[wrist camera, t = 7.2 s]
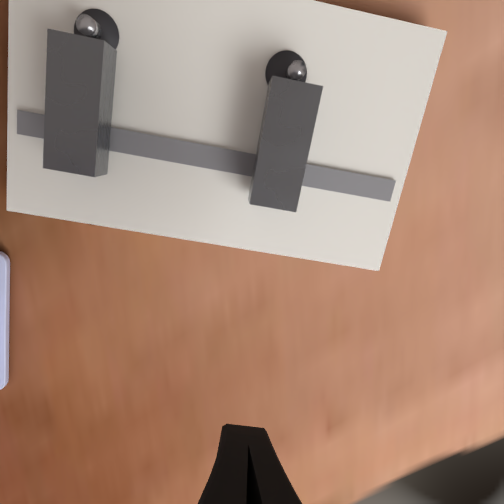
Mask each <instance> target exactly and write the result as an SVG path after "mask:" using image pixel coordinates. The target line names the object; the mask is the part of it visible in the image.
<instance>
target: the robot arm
mask: <svg viewBox="0 0 504 504" xmlns="http://www.w3.org/2000/svg"><path fill="white" fill-rule="evenodd" d="M9 302H10V260H9V257H8V256H7V255H6V254H5V253H3V252H0V389H2V388H3V387H4V386H5V385H6V384H7V383H8V380H9ZM198 504H302V503H301V501H300V499H299V498H298V496H297V494H296V492H295V490H294V489H293V487H292V485H291V483H290V481H289V479H288V477H287V475H286V473H285V471H284V469H283V467H282V465H281V463H280V461H279V459H278V457H277V455H276V453H275V450H274V448H273V446H272V444H271V441H270V439H269V436H268V434H267V431H266V430H265V429H264V428H258V427H250V426H241V425H232V424H226V425H224V426H222V431H221V437H220V442H219V447H218V452H217V458H216V461H215V463H214V466H213V469H212V472H211V474H210V477H209V479H208V482H207V484H206V486H205V489H204V491H203V493H202V495H201V498H200V500H199V502H198Z"/></svg>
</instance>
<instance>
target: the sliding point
mask: <svg viewBox="0 0 504 504" xmlns="http://www.w3.org/2000/svg"><path fill="white" fill-rule="evenodd" d="M305 73H306V65H305V63H304V62H303V61H301V60H295V61H293V62H292V63H291V64H290V66H289V67H288V69H287V71H286V75H287V78H288V79H287V78H282V77H277V76H272V78H271V79H270V81H269V84H268V90H267V95H266V101H265V107H264V112H263V118H262V123H261V129H260V134H259V140H258V146H257V151H256V157H255V162H254V168H253V174H252V179H251V185H250V190H249V196H248V201H249V204H251V205H257V206H262V207H268V208H274V209H280V210H285V211H291V212H296V211H297V206H298V201H299V197H300V192H301V187H302V183H303V178H304V174H305V169H306V164H307V160H308V155H309V150H310V146H311V141H312V136H313V132H314V127H315V122H316V118H317V113H318V108H319V104H320V99H321V94H322V90H323V86H320V85H315V84H311V83H306V82H301V81H299V80H300V79H301V78H302V77H303V76H304V75H305Z"/></svg>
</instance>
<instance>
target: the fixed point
mask: <svg viewBox="0 0 504 504" xmlns="http://www.w3.org/2000/svg"><path fill="white" fill-rule="evenodd" d="M76 27H77V29H78V31H79V32H80V33H82V34H83V35H84V36H81V35H76V34H72V33H67V32H62V31H57V30H53V29H47V58H46V87H45V116H44V145H43V168H45V169H50V170H56V171H62V172H67V173H73V174H79V175H85V176H90V177H98V176H102V175H106V174H107V172H108V160H109V147H110V134H111V122H112V109H113V96H114V84H115V71H116V58H117V50H115V49H114V48H113V47H112V46H111V45H109V44H108V43H107V42H106V41H104V40H100V39H99V38H100V37H101V34H102V29H101V27H100V25H99V24H98V23H97V22H96V21H95V20H94V19H93V18H92V17H90V16H89V15H87V14H81V15H79V16H78V17H77V19H76Z"/></svg>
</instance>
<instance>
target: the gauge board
mask: <svg viewBox="0 0 504 504" xmlns="http://www.w3.org/2000/svg"><path fill="white" fill-rule="evenodd" d="M81 14H87V15H89V16H90V17H92V18H93V19H94V20H95V21H96V22H97V23H98V24H99V25H100V27H101V29H102V34H101V37H100V38H99V39H100V40H104V41H106V42H107V43H108V44H109V45H111V46H112V47H113V48H114V49H115V50H117V58H116V71H115V84H114V96H113V109H112V122H111V134H110V147H109V160H108V172H107V174H106V175H102V176H98V177H90V176H85V175H79V174H73V173H67V172H62V171H56V170H50V169H45V168H43V145H44V116H45V87H46V58H47V29H53V30H57V31H62V32H67V33H72V34H76V35H81V36H84V35H83V34H82V33H80V32H79V31H78V29H77V27H76V19H77V17H78V16H79V15H81ZM446 34H447V31H444V30H440V29H435V28H431V27H427V26H422V25H418V24H414V23H409V22H405V21H401V20H397V19H392V18H388V17H384V16H379V15H375V14H371V13H366V12H362V11H358V10H353V9H349V8H345V7H340V6H336V5H332V4H327V3H323V2H319V1H314V0H9V20H8V123H7V211H13V212H19V213H25V214H32V215H38V216H44V217H50V218H56V219H62V220H68V221H75V222H81V223H87V224H93V225H99V226H105V227H111V228H118V229H124V230H130V231H136V232H142V233H148V234H155V235H161V236H167V237H173V238H179V239H185V240H191V241H198V242H204V243H210V244H216V245H222V246H228V247H234V248H241V249H247V250H253V251H259V252H265V253H271V254H278V255H284V256H290V257H296V258H302V259H308V260H314V261H321V262H327V263H333V264H339V265H345V266H351V267H358V268H364V269H370V270H376V271H379V269H380V265H381V262H382V258H383V255H384V251H385V248H386V244H387V241H388V237H389V234H390V230H391V227H392V223H393V220H394V216H395V213H396V209H397V206H398V202H399V199H400V195H401V192H402V188H403V185H404V181H405V178H406V174H407V171H408V167H409V164H410V160H411V157H412V153H413V150H414V146H415V143H416V139H417V136H418V132H419V129H420V125H421V122H422V118H423V115H424V111H425V108H426V104H427V101H428V97H429V94H430V90H431V87H432V83H433V80H434V76H435V73H436V69H437V66H438V62H439V59H440V55H441V52H442V48H443V45H444V41H445V38H446ZM295 60H301V61H303V62H304V63H305V65H306V73H305V75H304V76H303V77H302V78H301V79H300V80H299V81H301V82H306V83H311V84H315V85H320V86H323V90H322V94H321V99H320V104H319V108H318V113H317V118H316V122H315V127H314V132H313V136H312V141H311V146H310V150H309V155H308V160H307V164H306V169H305V174H304V178H303V183H302V187H301V192H300V197H299V201H298V206H297V211H296V212H291V211H285V210H280V209H274V208H268V207H262V206H257V205H251V204H249V201H248V196H249V190H250V185H251V179H252V174H253V168H254V162H255V157H256V151H257V146H258V140H259V134H260V129H261V123H262V118H263V112H264V107H265V101H266V95H267V90H268V84H269V81H270V79H271V78H272V76H277V77H282V78H287V75H286V71H287V69H288V67H289V66H290V64H291V63H292V62H293V61H295ZM287 79H288V78H287Z"/></svg>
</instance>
